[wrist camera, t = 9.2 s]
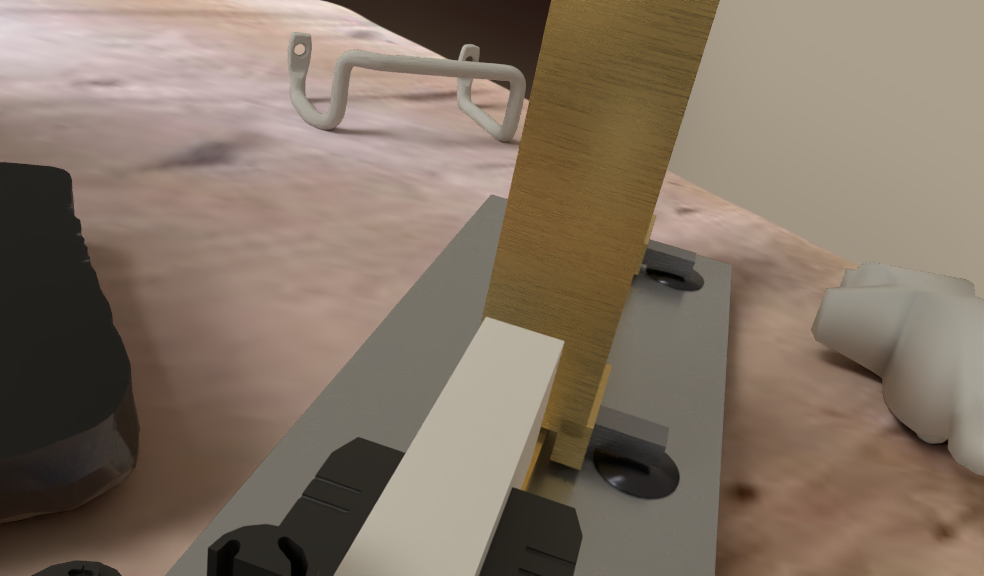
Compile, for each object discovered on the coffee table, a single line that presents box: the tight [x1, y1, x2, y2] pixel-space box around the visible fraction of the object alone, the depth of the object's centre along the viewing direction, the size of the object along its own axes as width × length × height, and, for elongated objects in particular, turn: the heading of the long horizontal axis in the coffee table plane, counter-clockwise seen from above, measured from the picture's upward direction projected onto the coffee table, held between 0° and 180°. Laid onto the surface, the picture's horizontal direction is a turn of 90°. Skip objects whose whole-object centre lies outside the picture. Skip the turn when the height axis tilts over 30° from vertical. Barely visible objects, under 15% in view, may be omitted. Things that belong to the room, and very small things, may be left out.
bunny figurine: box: [811, 262, 984, 476], centre depth 32 cm, size 10×5×15 cm
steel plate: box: [165, 194, 732, 576], centre depth 27 cm, size 12×30×1 cm, turn 164°
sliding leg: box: [480, 0, 720, 470], centre depth 22 cm, size 6×4×15 cm, turn 74°
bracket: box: [288, 32, 526, 142], centre depth 50 cm, size 13×8×5 cm, turn 116°
